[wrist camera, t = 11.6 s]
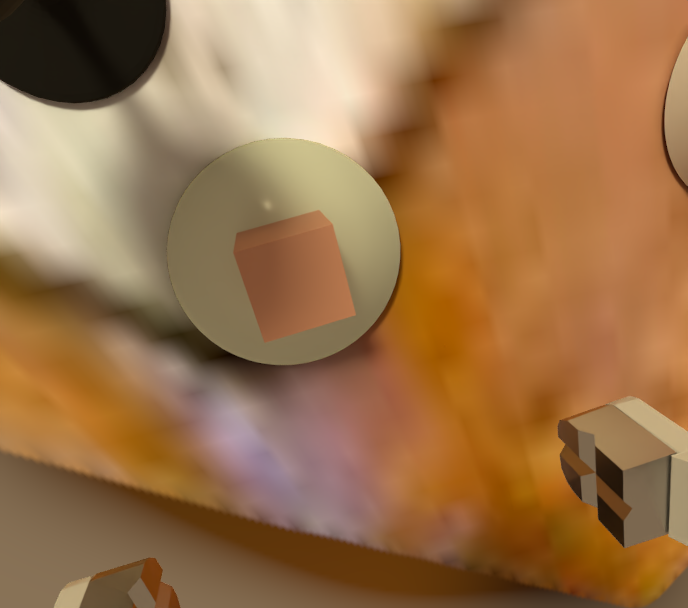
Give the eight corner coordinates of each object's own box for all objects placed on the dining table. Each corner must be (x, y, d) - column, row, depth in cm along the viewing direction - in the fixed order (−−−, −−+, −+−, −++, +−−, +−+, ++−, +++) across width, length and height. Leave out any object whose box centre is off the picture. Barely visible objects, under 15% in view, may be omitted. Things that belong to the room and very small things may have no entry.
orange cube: (319, 209, 27) (332, 224, 22) (339, 287, 29) (356, 315, 24) (236, 233, 27) (233, 252, 22) (262, 309, 28) (264, 343, 24)
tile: (370, 110, 27) (374, 109, 26) (414, 324, 32) (418, 328, 31) (129, 174, 25) (126, 175, 25) (216, 385, 30) (215, 392, 30)
